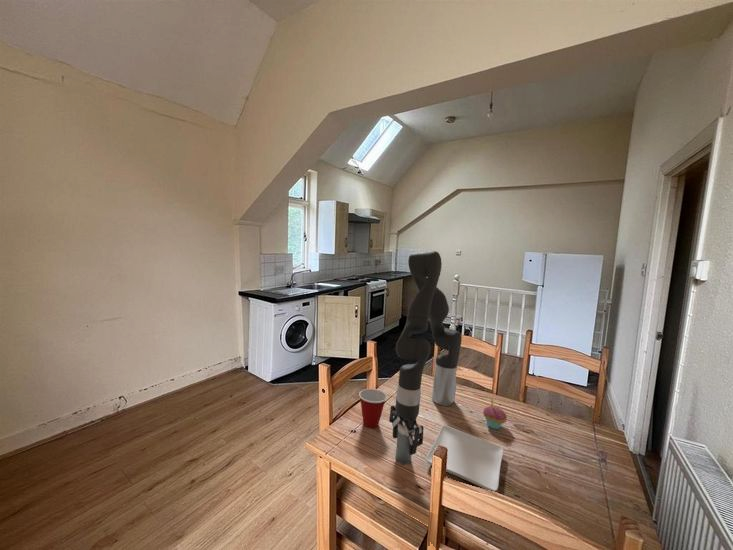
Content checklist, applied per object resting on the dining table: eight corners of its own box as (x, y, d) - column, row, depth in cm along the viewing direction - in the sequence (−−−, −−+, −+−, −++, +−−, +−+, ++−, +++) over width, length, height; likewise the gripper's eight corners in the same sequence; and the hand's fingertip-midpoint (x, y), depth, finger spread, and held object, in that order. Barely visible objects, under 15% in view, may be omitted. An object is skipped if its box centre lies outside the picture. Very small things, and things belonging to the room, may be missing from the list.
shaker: (404, 450, 100) (407, 418, 98) (414, 461, 95) (417, 428, 94) (392, 455, 97) (394, 423, 95) (401, 466, 92) (404, 432, 91)
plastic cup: (387, 418, 117) (389, 390, 115) (381, 435, 106) (384, 404, 105) (361, 412, 119) (363, 384, 118) (353, 428, 109) (355, 398, 108)
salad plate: (496, 501, 83) (497, 490, 82) (423, 468, 93) (424, 458, 92) (502, 455, 101) (504, 446, 101) (441, 432, 111) (442, 423, 111)
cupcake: (481, 428, 115) (485, 399, 113) (482, 416, 123) (485, 389, 121) (505, 434, 112) (510, 405, 110) (504, 422, 119) (508, 394, 118)
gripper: (432, 407, 89) (427, 456, 91) (403, 385, 101) (399, 429, 103) (413, 413, 85) (408, 464, 87) (385, 390, 97) (381, 435, 99)
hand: (403, 445), depth 95 cm, fingers open, 8 cm apart
